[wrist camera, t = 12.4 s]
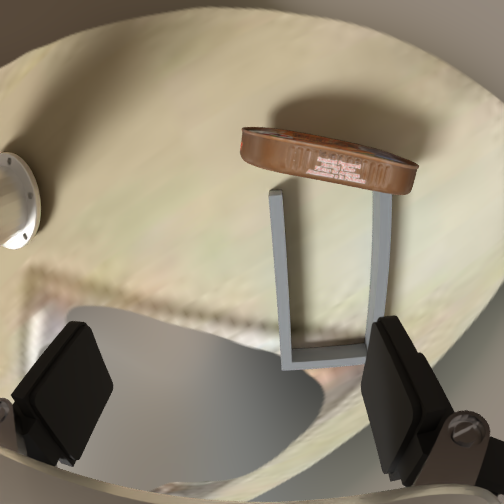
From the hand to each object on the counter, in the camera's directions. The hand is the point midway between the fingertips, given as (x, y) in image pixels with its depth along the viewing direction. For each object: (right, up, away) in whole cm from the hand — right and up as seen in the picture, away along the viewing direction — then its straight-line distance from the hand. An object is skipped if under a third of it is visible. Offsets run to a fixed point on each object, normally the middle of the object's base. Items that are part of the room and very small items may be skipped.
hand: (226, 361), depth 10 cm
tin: (+8, +13, +19) cm, 24 cm away
